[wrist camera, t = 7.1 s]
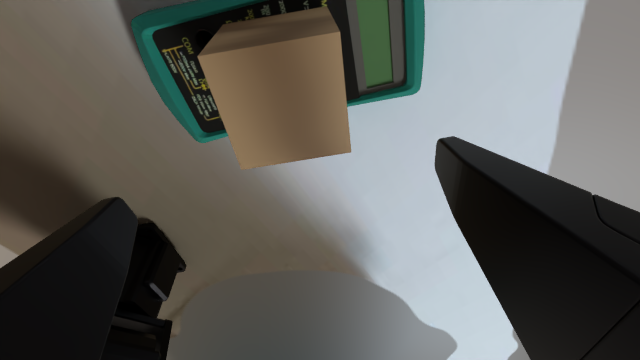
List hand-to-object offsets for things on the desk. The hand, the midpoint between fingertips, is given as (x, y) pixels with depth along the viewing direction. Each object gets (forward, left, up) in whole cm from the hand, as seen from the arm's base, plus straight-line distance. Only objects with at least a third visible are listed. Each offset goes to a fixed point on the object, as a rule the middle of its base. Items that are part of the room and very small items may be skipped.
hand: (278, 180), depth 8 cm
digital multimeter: (0, 0, -13) cm, 13 cm away
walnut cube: (0, 0, -9) cm, 9 cm away
